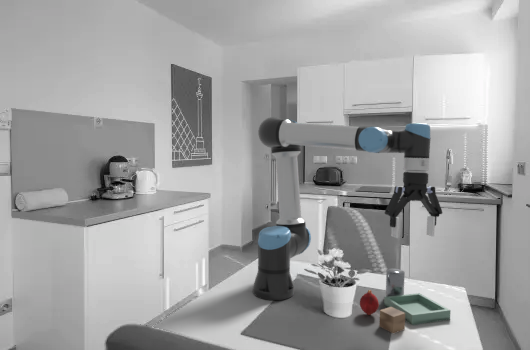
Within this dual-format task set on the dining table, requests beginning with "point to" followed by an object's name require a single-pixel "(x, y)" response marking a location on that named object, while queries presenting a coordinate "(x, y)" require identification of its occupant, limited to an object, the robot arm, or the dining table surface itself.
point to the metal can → (394, 282)
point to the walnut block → (392, 320)
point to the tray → (418, 308)
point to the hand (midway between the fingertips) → (412, 236)
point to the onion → (369, 303)
